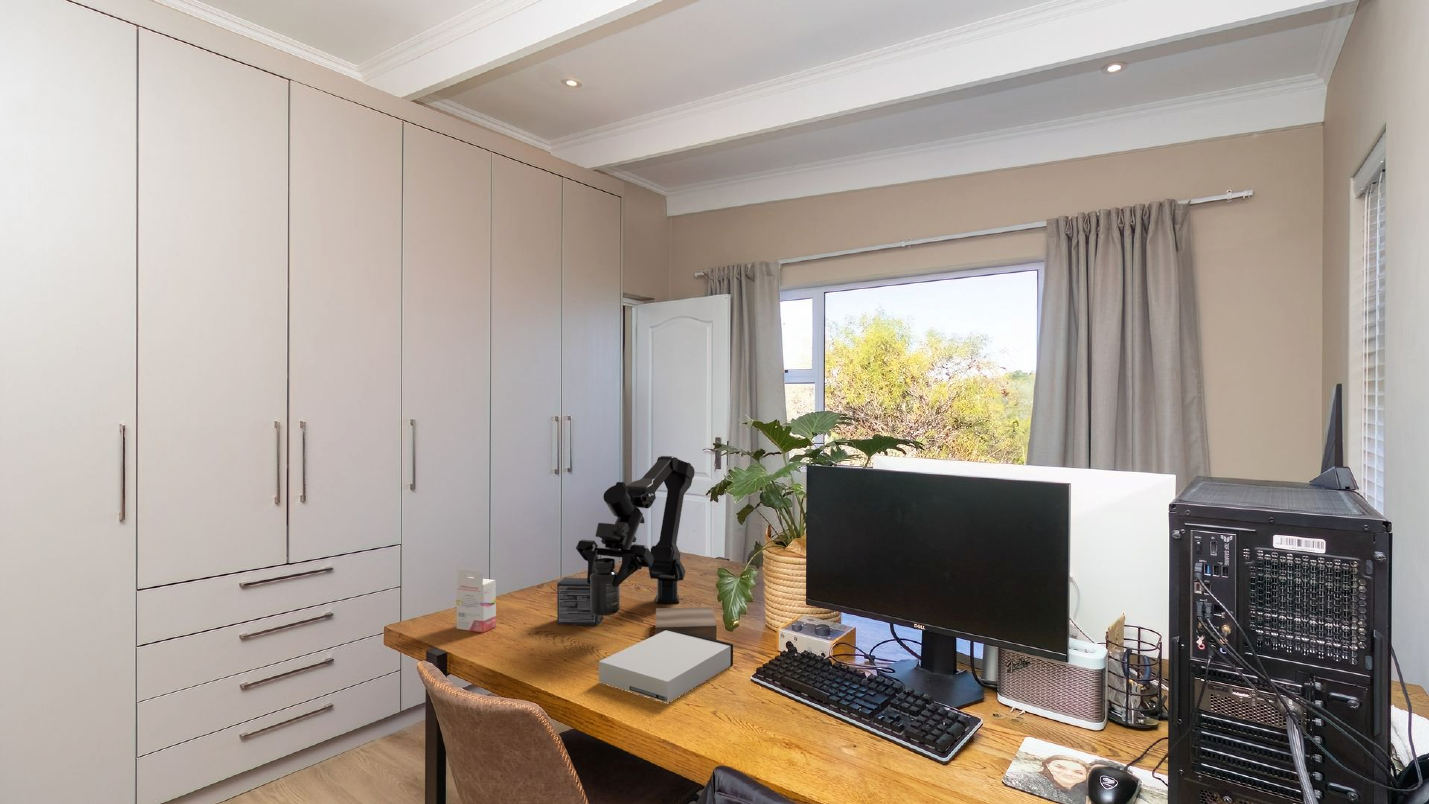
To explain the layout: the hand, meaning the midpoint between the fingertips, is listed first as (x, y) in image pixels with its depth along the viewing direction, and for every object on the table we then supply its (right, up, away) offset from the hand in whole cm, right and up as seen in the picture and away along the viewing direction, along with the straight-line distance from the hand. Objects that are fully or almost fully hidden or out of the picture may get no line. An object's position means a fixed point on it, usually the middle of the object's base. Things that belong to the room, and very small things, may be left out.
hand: (601, 584), depth 157 cm
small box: (-8, -13, +15) cm, 21 cm away
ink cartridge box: (-32, -13, +10) cm, 36 cm away
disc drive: (+17, -14, -18) cm, 28 cm away
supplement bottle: (+1, -7, +1) cm, 7 cm away
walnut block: (+19, -13, +6) cm, 24 cm away
